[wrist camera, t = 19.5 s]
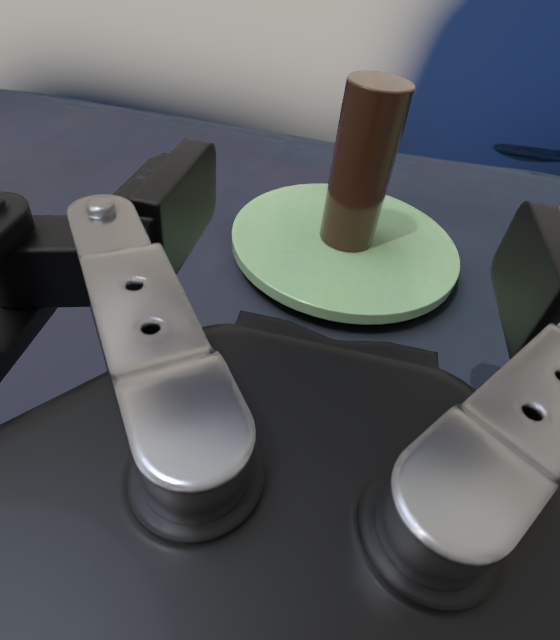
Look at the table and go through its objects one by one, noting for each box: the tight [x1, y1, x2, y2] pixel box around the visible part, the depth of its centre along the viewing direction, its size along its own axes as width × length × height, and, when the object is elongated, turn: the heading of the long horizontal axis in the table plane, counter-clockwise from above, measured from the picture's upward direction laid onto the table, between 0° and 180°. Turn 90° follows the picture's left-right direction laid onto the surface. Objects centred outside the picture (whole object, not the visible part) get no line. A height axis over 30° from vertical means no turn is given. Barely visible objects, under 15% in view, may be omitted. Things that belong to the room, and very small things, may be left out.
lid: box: [231, 71, 460, 325], centre depth 20 cm, size 11×11×8 cm
